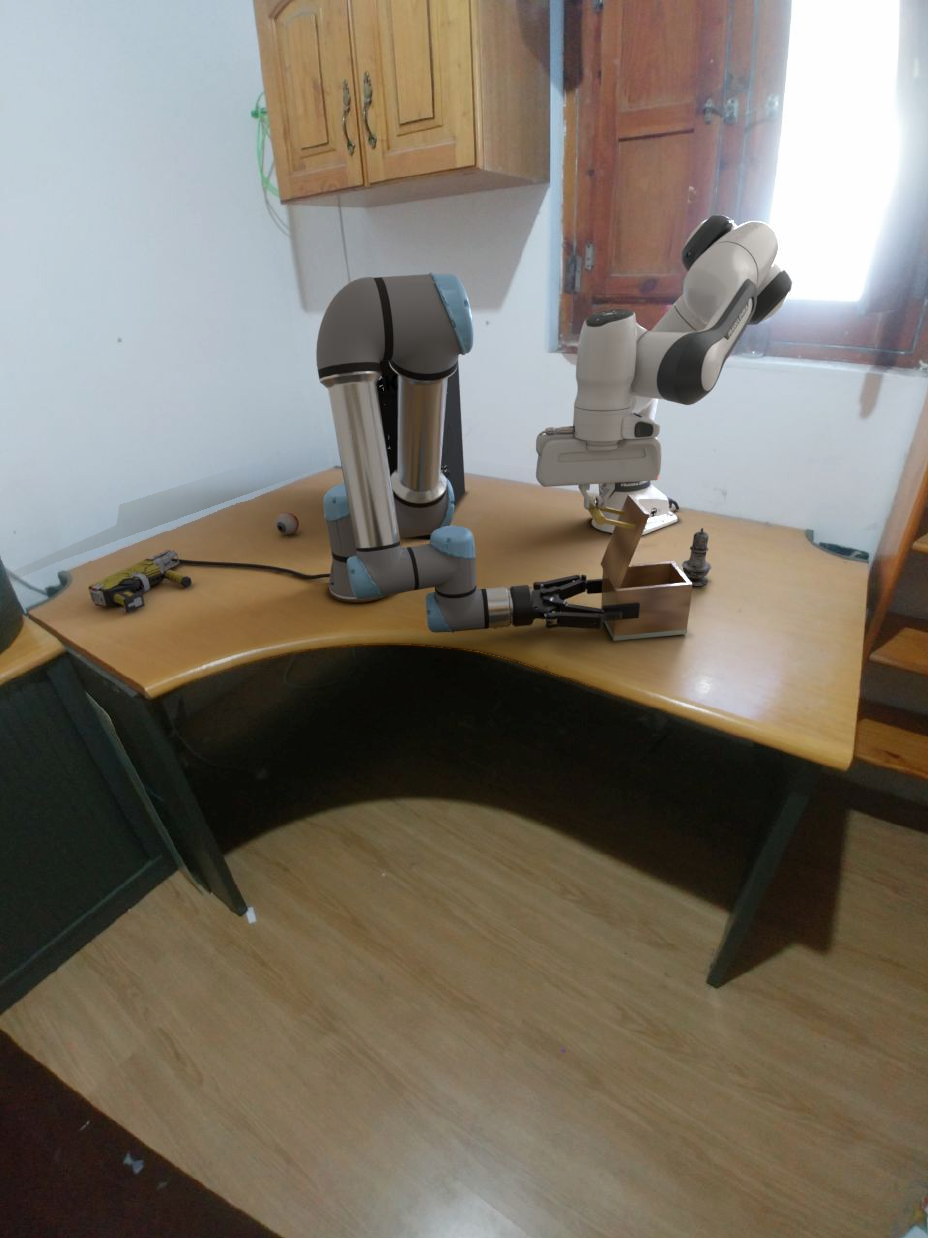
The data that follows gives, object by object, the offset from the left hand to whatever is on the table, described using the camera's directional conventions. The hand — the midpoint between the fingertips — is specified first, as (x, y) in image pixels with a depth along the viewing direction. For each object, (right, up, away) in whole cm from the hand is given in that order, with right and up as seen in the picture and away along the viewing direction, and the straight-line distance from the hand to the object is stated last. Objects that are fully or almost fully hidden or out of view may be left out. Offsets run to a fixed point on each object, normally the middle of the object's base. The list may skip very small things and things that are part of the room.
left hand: (629, 596), depth 112 cm
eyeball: (-79, +19, +53) cm, 97 cm away
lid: (-2, +9, -6) cm, 11 cm away
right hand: (-8, +15, -9) cm, 19 cm away
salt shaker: (+19, +4, +17) cm, 26 cm away
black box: (-45, +27, +63) cm, 82 cm away
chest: (+3, -5, +3) cm, 7 cm away
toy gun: (-102, +3, +28) cm, 105 cm away
